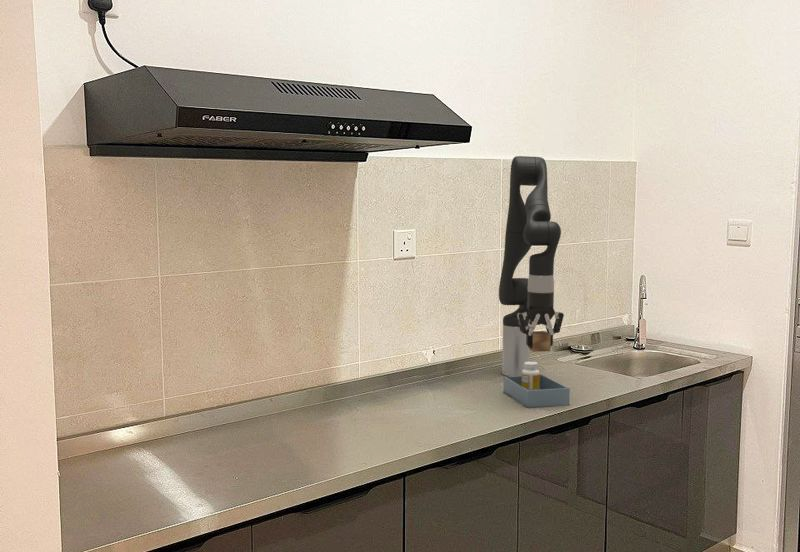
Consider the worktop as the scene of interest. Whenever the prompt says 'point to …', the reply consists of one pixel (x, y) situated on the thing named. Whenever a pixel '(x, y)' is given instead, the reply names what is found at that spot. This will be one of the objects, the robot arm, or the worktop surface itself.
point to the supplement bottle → (530, 376)
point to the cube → (540, 341)
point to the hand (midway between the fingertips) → (539, 347)
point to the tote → (537, 392)
